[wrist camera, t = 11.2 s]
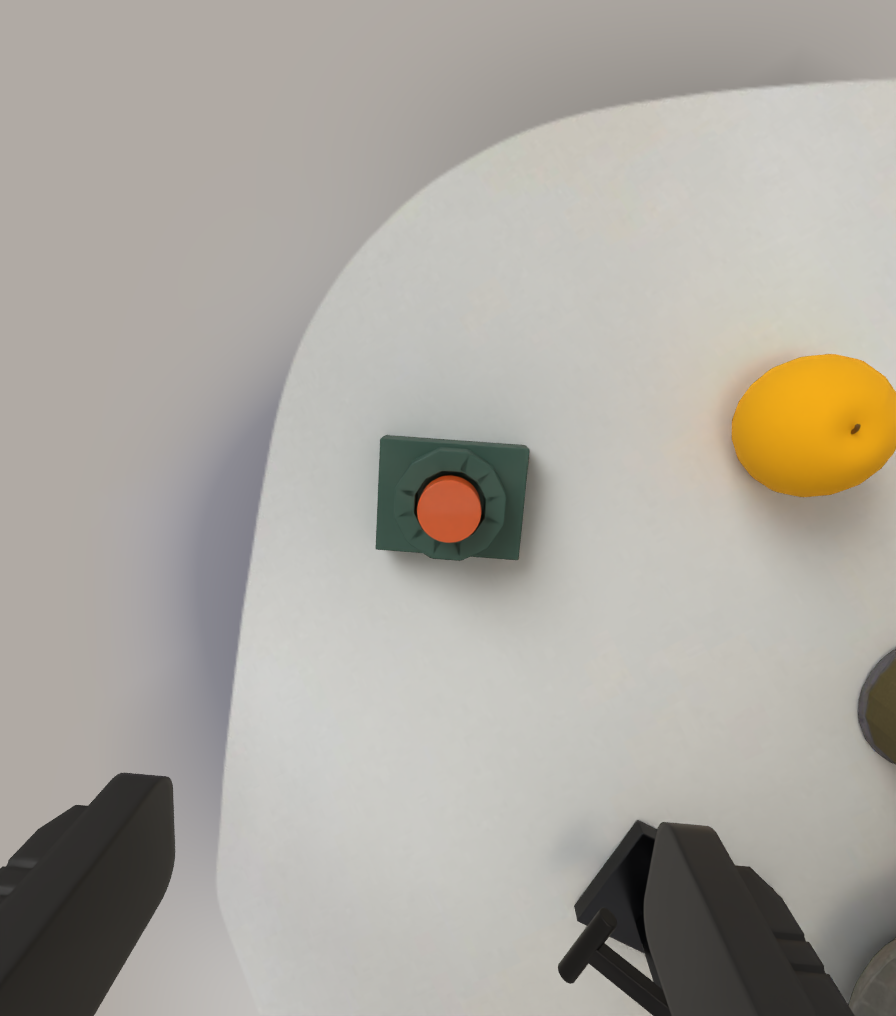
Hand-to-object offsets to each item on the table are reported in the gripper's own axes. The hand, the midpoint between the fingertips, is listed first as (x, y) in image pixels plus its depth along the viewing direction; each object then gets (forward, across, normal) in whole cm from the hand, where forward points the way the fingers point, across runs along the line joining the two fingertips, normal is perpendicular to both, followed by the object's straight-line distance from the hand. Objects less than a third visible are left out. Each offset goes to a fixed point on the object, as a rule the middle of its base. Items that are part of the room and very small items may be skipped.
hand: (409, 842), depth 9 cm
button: (+24, 0, 0) cm, 24 cm away
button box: (+28, 0, 0) cm, 28 cm away
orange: (+28, -20, -7) cm, 35 cm away
